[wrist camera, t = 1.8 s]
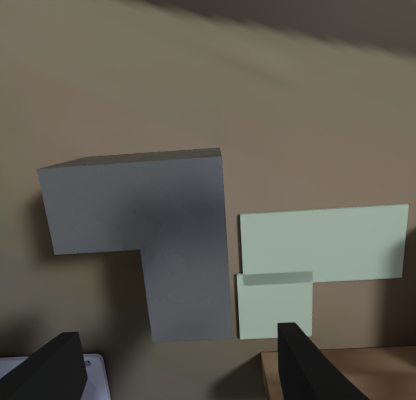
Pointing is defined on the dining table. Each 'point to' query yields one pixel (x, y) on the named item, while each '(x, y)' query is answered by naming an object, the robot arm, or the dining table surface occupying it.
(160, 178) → the bracket
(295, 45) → the dining table surface
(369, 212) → the pose pad
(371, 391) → the corner fence
